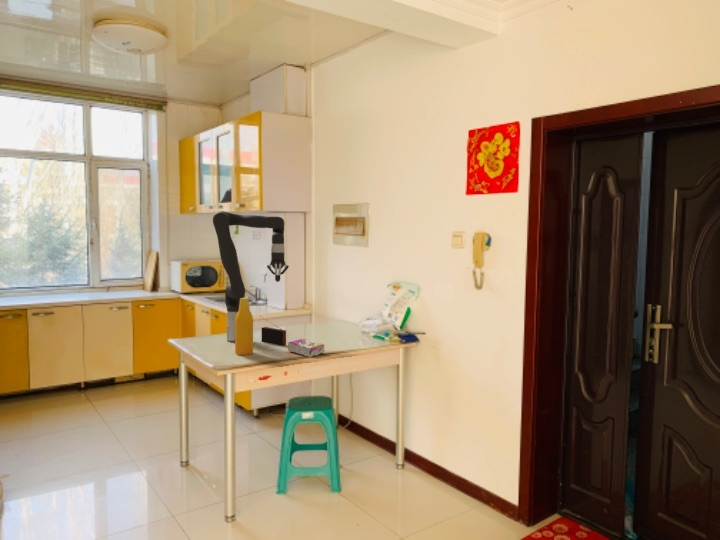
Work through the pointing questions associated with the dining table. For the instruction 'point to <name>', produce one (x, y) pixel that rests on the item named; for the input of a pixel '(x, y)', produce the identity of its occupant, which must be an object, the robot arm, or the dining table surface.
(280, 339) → the radio
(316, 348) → the candy bar box
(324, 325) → the dining table surface
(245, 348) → the beer bottle
